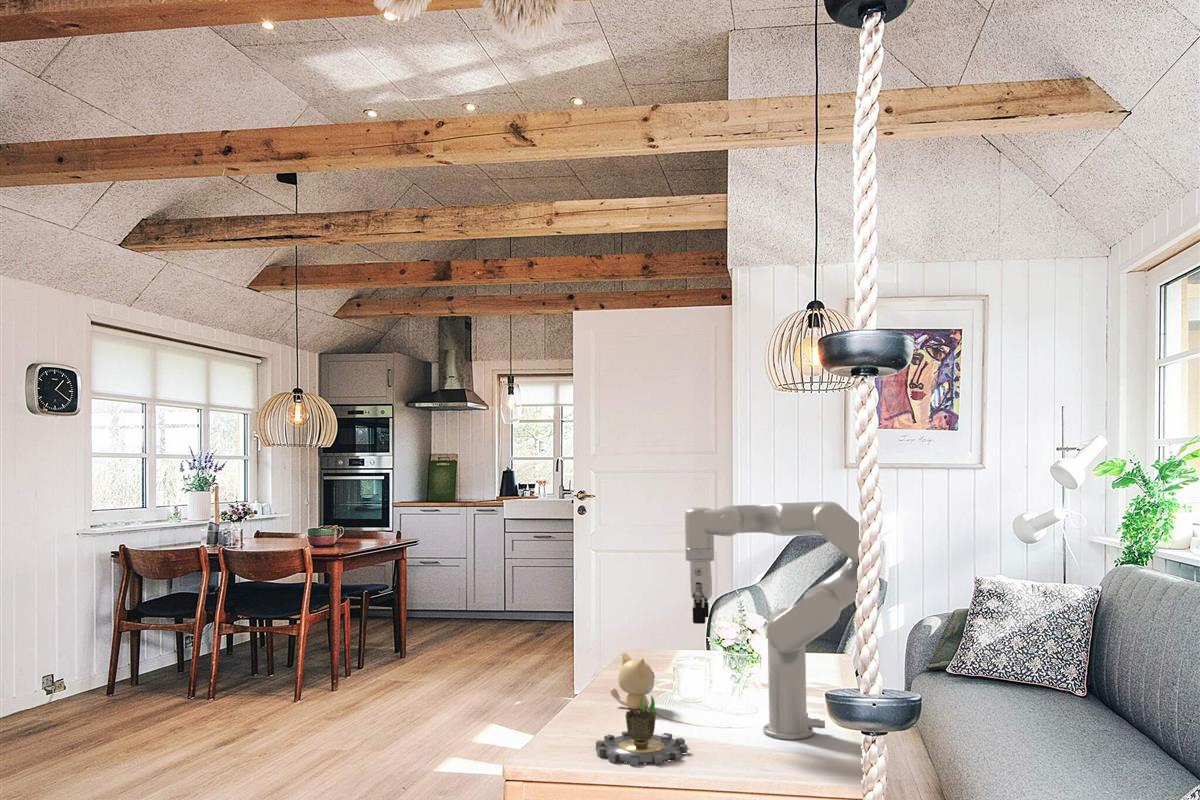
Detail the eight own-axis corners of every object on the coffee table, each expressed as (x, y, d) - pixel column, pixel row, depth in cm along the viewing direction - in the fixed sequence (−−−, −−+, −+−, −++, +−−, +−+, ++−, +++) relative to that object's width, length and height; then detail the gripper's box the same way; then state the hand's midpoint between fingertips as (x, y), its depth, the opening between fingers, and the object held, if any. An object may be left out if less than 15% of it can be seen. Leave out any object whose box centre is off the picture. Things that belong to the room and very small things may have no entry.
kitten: (667, 711, 274) (666, 657, 274) (638, 717, 268) (637, 661, 269) (637, 700, 286) (636, 648, 287) (608, 705, 281) (608, 652, 282)
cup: (653, 751, 233) (653, 717, 233) (623, 749, 234) (622, 715, 235) (658, 742, 240) (658, 709, 241) (629, 740, 242) (628, 707, 242)
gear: (691, 740, 247) (691, 732, 247) (681, 768, 225) (681, 760, 225) (605, 736, 251) (605, 728, 251) (587, 763, 229) (587, 755, 229)
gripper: (711, 558, 249) (712, 626, 248) (716, 551, 266) (717, 615, 265) (682, 558, 250) (683, 625, 250) (689, 551, 267) (690, 614, 267)
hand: (700, 620), depth 257 cm, fingers open, 9 cm apart
